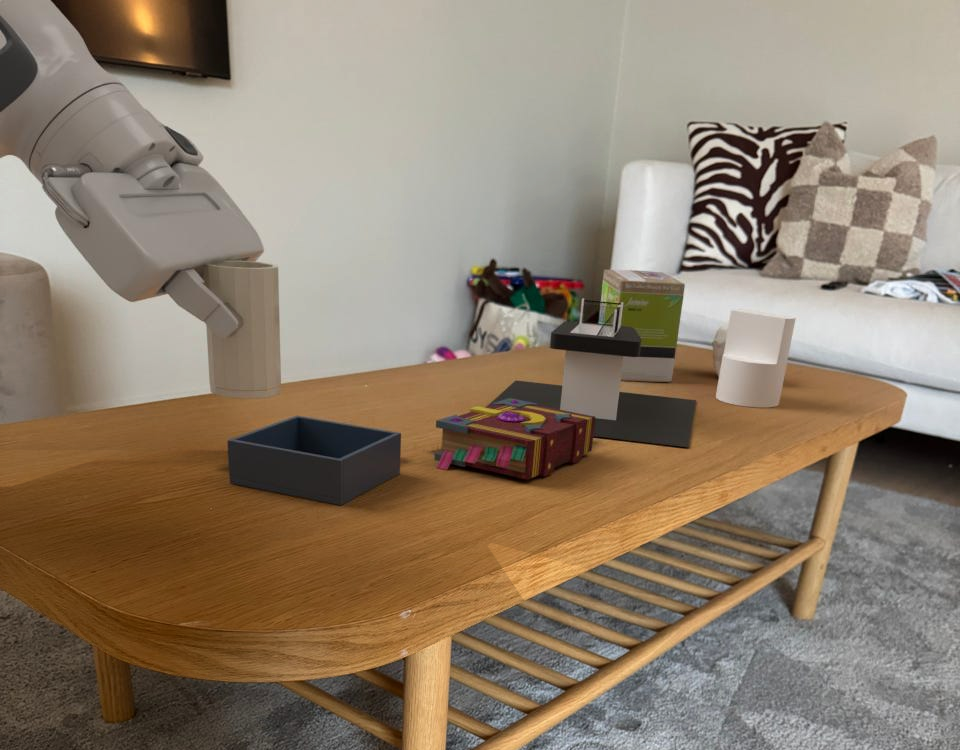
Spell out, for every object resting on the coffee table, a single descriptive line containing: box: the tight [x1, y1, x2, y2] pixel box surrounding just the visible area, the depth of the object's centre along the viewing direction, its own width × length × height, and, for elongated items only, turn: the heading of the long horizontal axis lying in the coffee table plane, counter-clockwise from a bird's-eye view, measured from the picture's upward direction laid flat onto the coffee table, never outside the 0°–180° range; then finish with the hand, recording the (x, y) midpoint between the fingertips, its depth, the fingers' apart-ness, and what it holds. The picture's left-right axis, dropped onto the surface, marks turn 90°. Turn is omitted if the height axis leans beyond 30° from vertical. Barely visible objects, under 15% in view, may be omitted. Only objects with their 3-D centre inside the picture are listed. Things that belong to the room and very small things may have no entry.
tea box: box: [598, 269, 686, 383], centre depth 150 cm, size 15×10×15 cm, turn 3°
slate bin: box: [227, 415, 402, 506], centre depth 91 cm, size 12×12×4 cm
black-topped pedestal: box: [486, 298, 697, 448], centre depth 123 cm, size 28×26×13 cm
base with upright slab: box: [715, 308, 797, 409], centre depth 136 cm, size 9×9×12 cm
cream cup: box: [203, 260, 282, 400], centre depth 70 cm, size 5×5×9 cm
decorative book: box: [434, 398, 595, 481], centre depth 101 cm, size 11×16×5 cm
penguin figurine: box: [711, 320, 729, 378], centre depth 152 cm, size 6×8×12 cm
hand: (251, 325), depth 70 cm, fingers closed on cream cup, 5 cm apart
